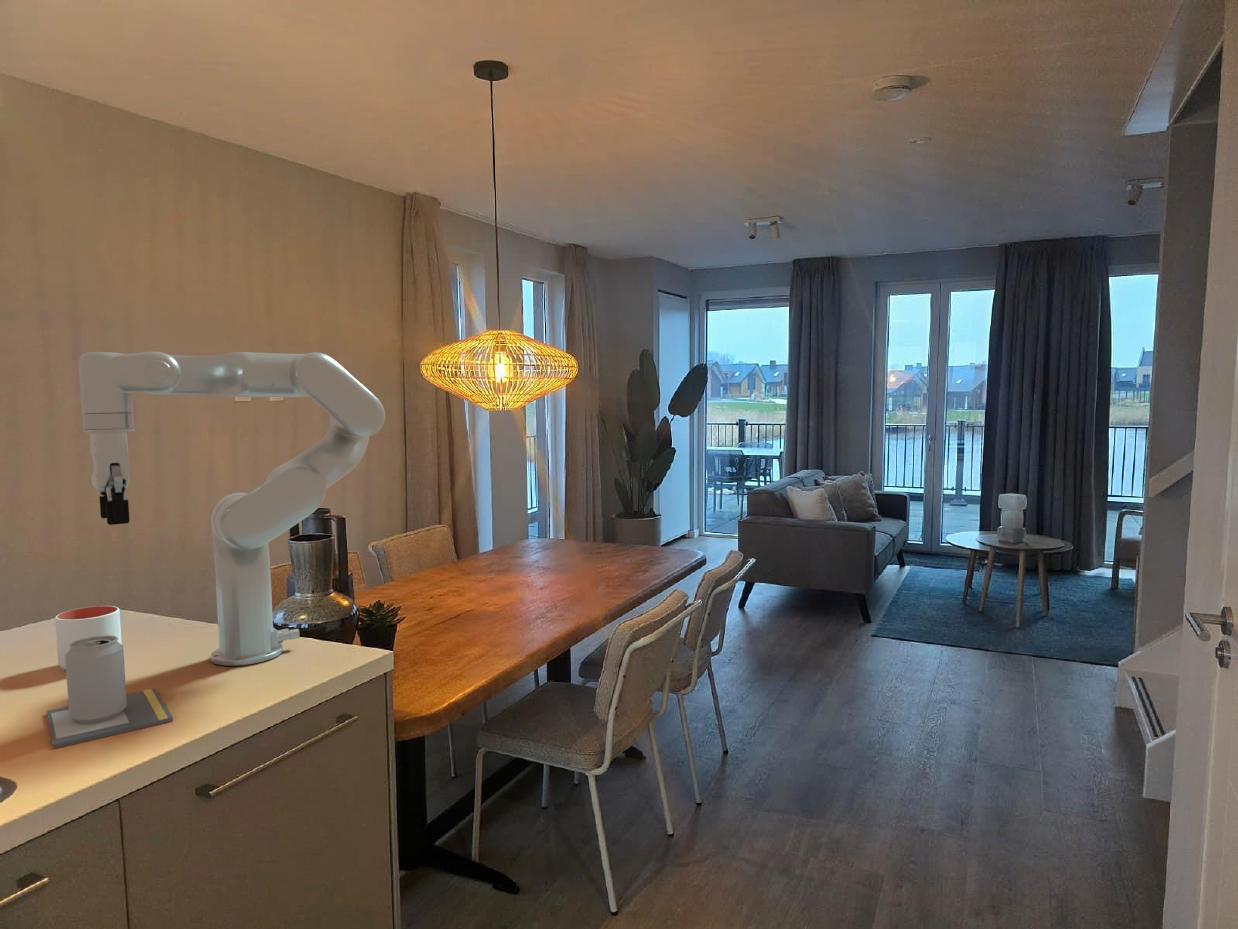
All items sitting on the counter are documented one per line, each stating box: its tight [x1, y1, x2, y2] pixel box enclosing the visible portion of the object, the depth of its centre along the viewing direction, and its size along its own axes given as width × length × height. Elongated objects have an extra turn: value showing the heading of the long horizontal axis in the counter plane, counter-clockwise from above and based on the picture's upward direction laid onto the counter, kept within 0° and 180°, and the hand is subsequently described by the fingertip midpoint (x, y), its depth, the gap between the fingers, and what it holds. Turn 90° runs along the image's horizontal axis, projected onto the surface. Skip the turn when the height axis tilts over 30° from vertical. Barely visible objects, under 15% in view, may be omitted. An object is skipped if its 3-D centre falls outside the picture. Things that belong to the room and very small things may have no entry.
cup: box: [54, 605, 123, 671], centre depth 148 cm, size 10×10×10 cm
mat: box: [45, 688, 174, 749], centre depth 123 cm, size 15×16×1 cm
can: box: [65, 635, 127, 723], centre depth 122 cm, size 8×8×12 cm
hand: (114, 520), depth 139 cm, fingers open, 9 cm apart
